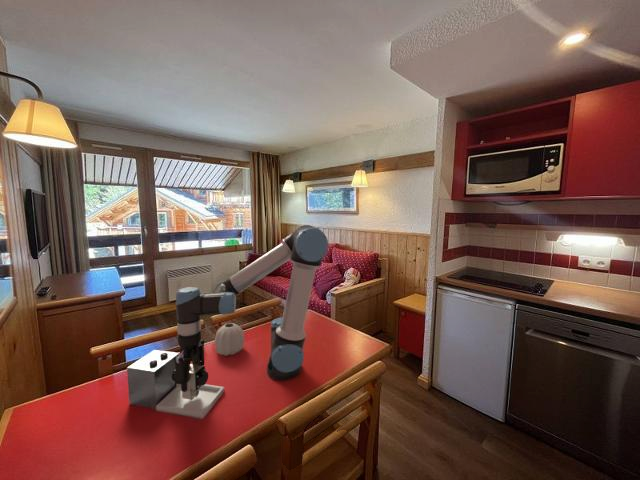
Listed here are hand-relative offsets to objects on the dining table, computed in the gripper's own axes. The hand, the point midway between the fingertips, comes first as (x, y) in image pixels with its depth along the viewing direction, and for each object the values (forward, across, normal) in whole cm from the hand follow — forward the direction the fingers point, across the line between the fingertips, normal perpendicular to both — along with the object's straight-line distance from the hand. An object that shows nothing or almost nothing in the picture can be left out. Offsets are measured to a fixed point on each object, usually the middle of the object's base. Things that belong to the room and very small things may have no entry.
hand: (191, 392), depth 96 cm
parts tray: (+3, 0, 0) cm, 3 cm away
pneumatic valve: (+1, 0, 0) cm, 1 cm away
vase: (+4, -34, -4) cm, 34 cm away
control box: (+3, 0, -15) cm, 15 cm away
